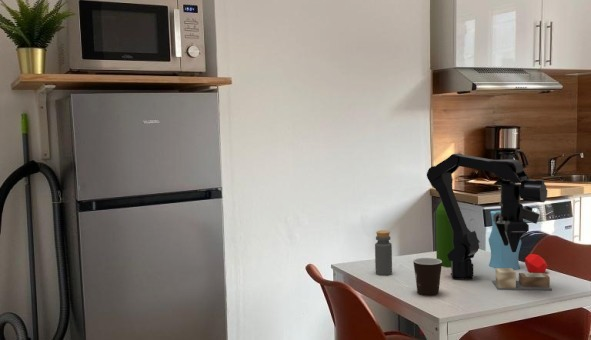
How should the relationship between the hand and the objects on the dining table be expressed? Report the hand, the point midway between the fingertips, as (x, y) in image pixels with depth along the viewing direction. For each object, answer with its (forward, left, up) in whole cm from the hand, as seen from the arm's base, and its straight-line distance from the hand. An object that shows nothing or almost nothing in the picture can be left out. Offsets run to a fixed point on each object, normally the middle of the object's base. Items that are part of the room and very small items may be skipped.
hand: (509, 248), depth 175 cm
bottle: (-40, +14, -12) cm, 44 cm away
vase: (+3, +24, -12) cm, 27 cm away
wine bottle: (-16, +28, -12) cm, 34 cm away
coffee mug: (-26, -7, -12) cm, 29 cm away
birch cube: (-2, -1, -12) cm, 12 cm away
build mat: (+3, 0, -12) cm, 13 cm away
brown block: (+7, +1, -12) cm, 14 cm away
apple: (+12, +18, -12) cm, 25 cm away
